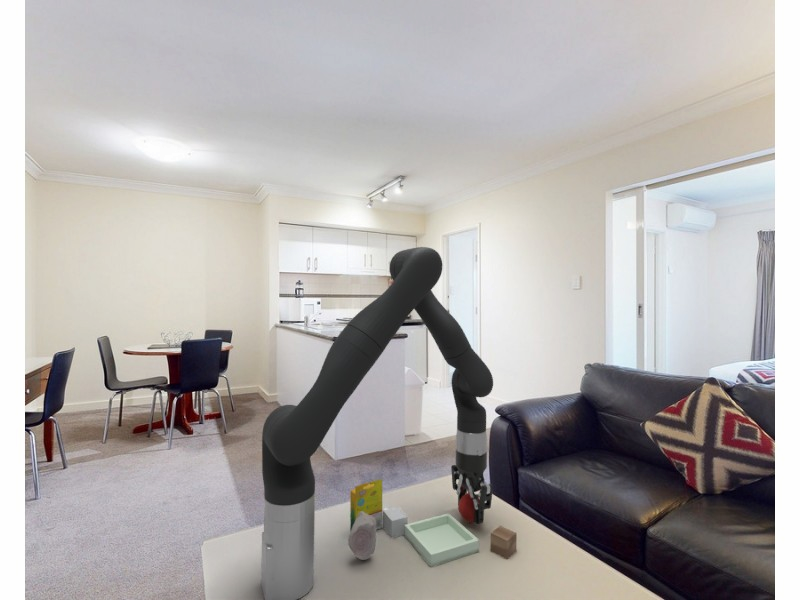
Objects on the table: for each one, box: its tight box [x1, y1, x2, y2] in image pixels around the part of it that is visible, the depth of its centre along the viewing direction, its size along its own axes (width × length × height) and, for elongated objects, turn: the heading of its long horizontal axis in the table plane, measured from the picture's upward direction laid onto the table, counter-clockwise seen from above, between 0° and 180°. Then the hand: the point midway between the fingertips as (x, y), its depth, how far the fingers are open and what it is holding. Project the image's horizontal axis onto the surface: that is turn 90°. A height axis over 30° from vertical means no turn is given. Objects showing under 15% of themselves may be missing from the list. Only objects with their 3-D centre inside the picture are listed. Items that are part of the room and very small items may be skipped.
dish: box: [403, 513, 480, 568], centre depth 89 cm, size 12×12×2 cm
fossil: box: [347, 511, 377, 561], centre depth 83 cm, size 6×4×10 cm, turn 105°
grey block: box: [382, 506, 408, 539], centre depth 94 cm, size 4×5×4 cm
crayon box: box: [349, 478, 383, 532], centre depth 94 cm, size 7×3×12 cm, turn 123°
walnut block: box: [489, 525, 518, 560], centre depth 87 cm, size 4×4×4 cm
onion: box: [457, 490, 480, 524], centre depth 97 cm, size 6×6×8 cm
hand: (470, 516), depth 97 cm, fingers closed on onion, 6 cm apart
